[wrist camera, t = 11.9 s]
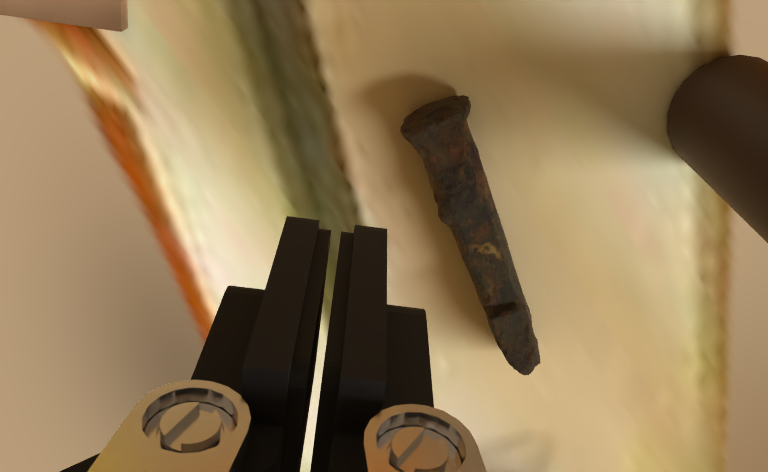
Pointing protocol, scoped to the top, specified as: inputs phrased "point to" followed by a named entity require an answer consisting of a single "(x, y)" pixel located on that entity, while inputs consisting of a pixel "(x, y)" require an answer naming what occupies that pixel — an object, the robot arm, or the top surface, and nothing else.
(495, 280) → the hand tool
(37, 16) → the tongs board
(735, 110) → the bottle
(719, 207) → the top surface
